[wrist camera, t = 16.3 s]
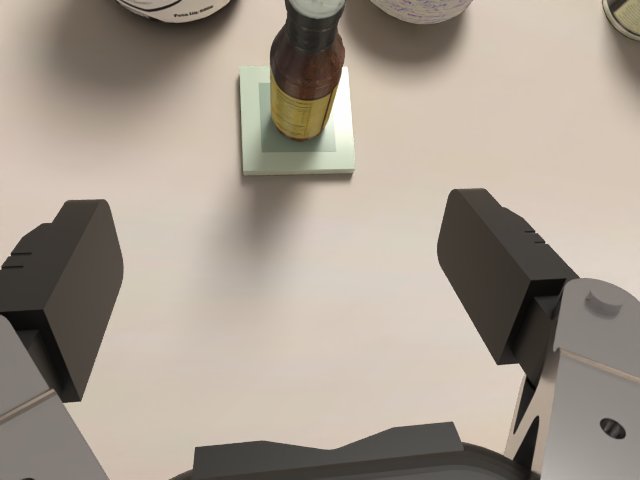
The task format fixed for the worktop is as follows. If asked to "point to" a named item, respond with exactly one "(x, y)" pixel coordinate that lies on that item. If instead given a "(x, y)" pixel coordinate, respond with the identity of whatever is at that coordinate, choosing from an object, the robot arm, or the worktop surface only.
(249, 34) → the worktop surface
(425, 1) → the paper bowls
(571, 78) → the worktop surface
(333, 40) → the sauce bottle
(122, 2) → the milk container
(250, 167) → the trivet
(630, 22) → the coffee can
